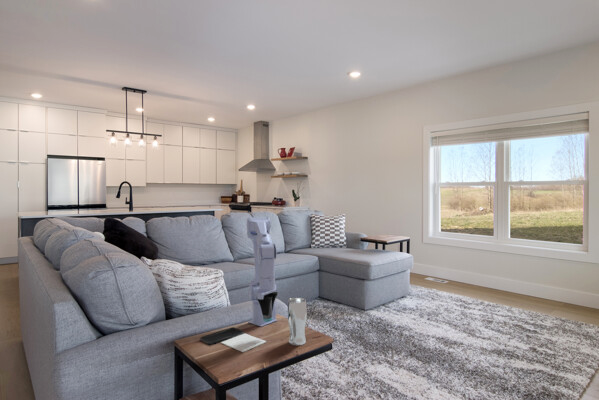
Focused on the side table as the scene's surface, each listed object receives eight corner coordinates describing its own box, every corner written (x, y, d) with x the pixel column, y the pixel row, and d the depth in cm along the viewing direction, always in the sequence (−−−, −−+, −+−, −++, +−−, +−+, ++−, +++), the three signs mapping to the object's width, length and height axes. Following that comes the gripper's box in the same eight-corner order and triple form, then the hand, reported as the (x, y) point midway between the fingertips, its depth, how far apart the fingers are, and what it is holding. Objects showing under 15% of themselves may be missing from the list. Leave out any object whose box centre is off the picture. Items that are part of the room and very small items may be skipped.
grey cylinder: (267, 318, 134) (267, 296, 134) (273, 320, 132) (273, 298, 132) (261, 320, 132) (261, 298, 132) (267, 322, 130) (267, 300, 130)
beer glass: (309, 339, 130) (309, 298, 130) (303, 347, 123) (302, 303, 123) (291, 337, 132) (291, 296, 132) (284, 344, 126) (284, 302, 126)
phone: (198, 337, 131) (232, 326, 142) (198, 340, 131) (232, 329, 142) (210, 343, 125) (245, 331, 136) (210, 346, 125) (245, 334, 136)
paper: (244, 334, 136) (244, 333, 136) (266, 342, 128) (266, 341, 128) (220, 343, 127) (220, 342, 127) (242, 352, 120) (242, 351, 120)
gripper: (264, 272, 140) (264, 306, 140) (249, 280, 126) (249, 319, 126) (281, 273, 138) (281, 308, 138) (267, 281, 124) (268, 320, 124)
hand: (267, 313), depth 132 cm, fingers closed on grey cylinder, 3 cm apart
